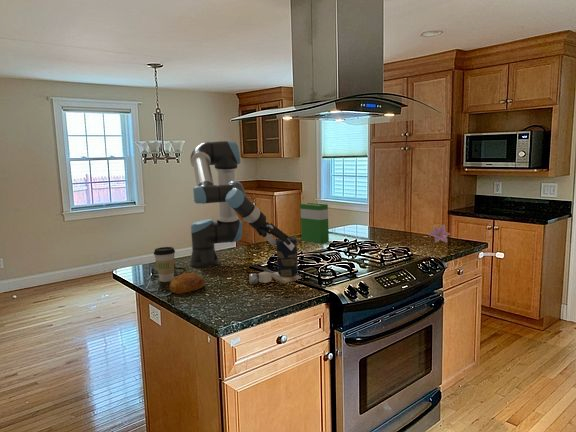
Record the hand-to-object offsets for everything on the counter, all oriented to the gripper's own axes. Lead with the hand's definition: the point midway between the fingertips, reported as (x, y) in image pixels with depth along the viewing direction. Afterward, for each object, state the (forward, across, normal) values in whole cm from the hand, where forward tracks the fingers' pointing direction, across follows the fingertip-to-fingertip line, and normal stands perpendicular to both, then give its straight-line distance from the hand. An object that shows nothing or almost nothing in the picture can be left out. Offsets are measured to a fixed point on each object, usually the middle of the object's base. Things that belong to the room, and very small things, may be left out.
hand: (283, 245), depth 205 cm
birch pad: (+12, 0, -9) cm, 15 cm away
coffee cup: (-19, -37, -41) cm, 58 cm away
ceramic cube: (+4, -2, -18) cm, 18 cm away
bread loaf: (-18, -17, -40) cm, 47 cm away
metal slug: (0, -3, -21) cm, 22 cm away
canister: (+11, 0, -9) cm, 14 cm away
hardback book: (+58, -56, +36) cm, 88 cm away
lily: (+93, +2, +71) cm, 117 cm away
